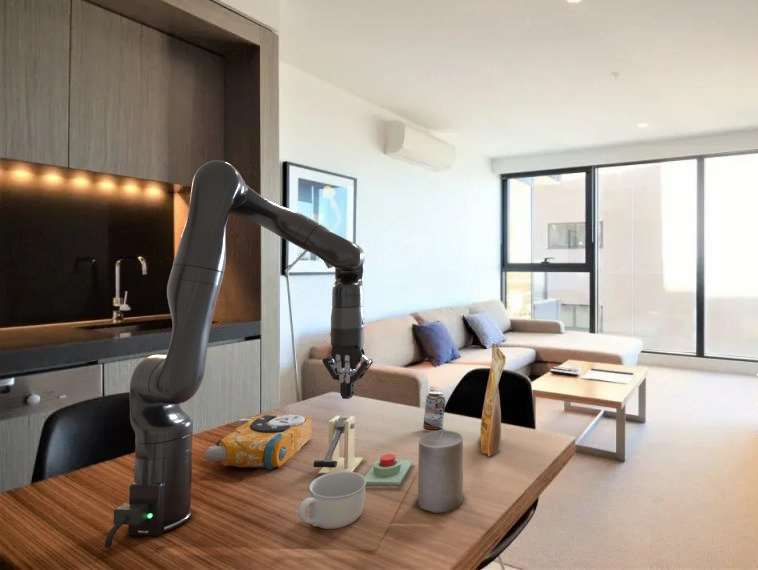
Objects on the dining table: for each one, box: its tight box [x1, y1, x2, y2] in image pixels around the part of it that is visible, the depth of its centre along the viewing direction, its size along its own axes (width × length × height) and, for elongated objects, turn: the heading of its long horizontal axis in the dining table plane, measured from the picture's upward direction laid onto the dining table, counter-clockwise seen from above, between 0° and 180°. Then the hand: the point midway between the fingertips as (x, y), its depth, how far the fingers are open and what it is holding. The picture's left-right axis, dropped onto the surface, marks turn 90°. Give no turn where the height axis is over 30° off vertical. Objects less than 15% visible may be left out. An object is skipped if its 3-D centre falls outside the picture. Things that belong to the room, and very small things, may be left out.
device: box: [204, 414, 313, 471], centre depth 126 cm, size 23×8×30 cm
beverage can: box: [422, 390, 446, 432], centre depth 143 cm, size 6×7×12 cm
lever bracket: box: [317, 415, 364, 474], centre depth 115 cm, size 9×8×13 cm
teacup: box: [297, 471, 367, 530], centre depth 90 cm, size 14×11×8 cm
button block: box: [364, 457, 413, 486], centre depth 111 cm, size 12×9×4 cm
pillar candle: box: [417, 430, 464, 514], centre depth 99 cm, size 10×10×15 cm
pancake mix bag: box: [479, 343, 507, 457], centre depth 131 cm, size 7×19×28 cm, turn 4°
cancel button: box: [379, 453, 396, 467], centre depth 111 cm, size 4×4×2 cm
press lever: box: [313, 417, 348, 468], centre depth 111 cm, size 13×5×2 cm, turn 178°
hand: (347, 398), depth 108 cm, fingers closed
